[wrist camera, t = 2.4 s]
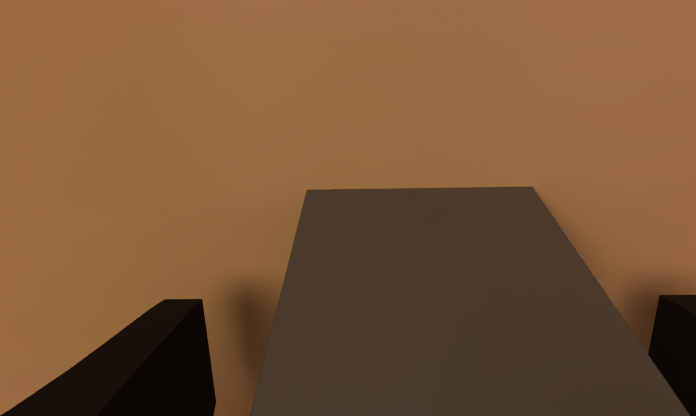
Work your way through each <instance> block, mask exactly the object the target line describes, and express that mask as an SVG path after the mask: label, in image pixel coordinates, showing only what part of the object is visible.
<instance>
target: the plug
mask: <svg viewBox="0 0 696 416" xmlns="http://www.w3.org/2000/svg"><path fill="white" fill-rule="evenodd" d="M250 416H690V415H689V413H688V412H687V410H686V409H685V407H684V406H683V405H682V403H681V402H680V400H679V399H678V397H677V396H676V394H675V393H674V392H673V390H672V389H671V387H670V386H669V384H668V383H667V381H666V380H665V378H664V377H663V376H662V374H661V373H660V371H659V370H658V368H657V367H656V365H655V364H654V363H653V361H652V360H651V358H650V357H649V355H648V354H647V352H646V351H645V350H644V348H643V347H642V345H641V344H640V342H639V341H638V339H637V338H636V336H635V335H634V334H633V332H632V331H631V329H630V328H629V326H628V325H627V323H626V322H625V321H624V319H623V318H622V316H621V315H620V313H619V312H618V310H617V309H616V308H615V306H614V305H613V303H612V302H611V300H610V299H609V297H608V296H607V294H606V293H605V292H604V290H603V289H602V287H601V286H600V284H599V283H598V281H597V280H596V279H595V277H594V276H593V274H592V273H591V271H590V270H589V268H588V267H587V266H586V264H585V263H584V261H583V260H582V258H581V257H580V255H579V254H578V253H577V251H576V250H575V248H574V247H573V245H572V244H571V242H570V241H569V239H568V238H567V237H566V235H565V234H564V232H563V231H562V229H561V228H560V226H559V225H558V224H557V222H556V221H555V219H554V218H553V216H552V215H551V213H550V212H549V211H548V209H547V208H546V206H545V205H544V203H543V202H542V200H541V199H540V197H539V196H538V195H537V193H536V192H535V190H534V189H533V187H476V188H403V189H331V190H307V191H306V195H305V199H304V203H303V207H302V211H301V215H300V219H299V223H298V227H297V231H296V235H295V239H294V243H293V247H292V251H291V255H290V259H289V263H288V267H287V271H286V275H285V279H284V283H283V287H282V291H281V295H280V298H279V302H278V306H277V310H276V314H275V318H274V322H273V326H272V330H271V334H270V338H269V342H268V346H267V350H266V354H265V358H264V362H263V366H262V370H261V374H260V378H259V382H258V386H257V390H256V394H255V398H254V402H253V406H252V409H251V413H250Z"/></svg>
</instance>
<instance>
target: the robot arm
mask: <svg viewBox="0 0 696 416" xmlns="http://www.w3.org/2000/svg"><path fill="white" fill-rule="evenodd" d="M648 355H649V357H650V358H651V360H652V361H653V363H654V364H655V365H656V367H657V368H658V370H659V371H660V373H661V374H662V376H663V377H664V378H665V380H666V381H667V383H668V384H669V386H670V387H671V389H672V390H673V392H674V393H675V394H676V396H677V397H678V399H679V400H680V402H681V403H682V405H683V406H684V407H685V409H686V410H687V412H688V413H689V415H690V416H696V295H660V296H659V301H658V307H657V312H656V317H655V322H654V327H653V332H652V338H651V343H650V348H649V353H648ZM215 405H216V398H215V391H214V383H213V376H212V368H211V361H210V353H209V346H208V339H207V331H206V324H205V316H204V309H203V302H202V299H165V300H163V301H162V302H160V303H158V304H157V305H155V306H154V307H153V308H151V309H150V310H148V311H147V312H146V313H144V314H143V315H141V316H140V317H139V318H137V319H136V320H135V321H133V322H132V323H131V324H129V325H128V326H127V327H125V328H124V329H123V330H122V331H120V332H119V333H118V334H116V335H115V336H114V337H112V338H111V339H110V340H108V341H107V342H106V343H104V344H103V345H102V346H100V347H99V348H97V349H96V350H95V351H93V352H92V353H91V354H89V355H88V356H87V357H85V358H84V359H83V360H81V361H80V362H79V363H77V364H76V365H75V366H73V367H72V368H70V369H69V370H68V371H66V372H65V373H63V374H62V375H60V376H59V377H57V378H56V379H54V380H53V381H51V382H50V383H48V384H47V385H45V386H44V387H43V388H41V389H40V390H38V391H37V392H35V393H34V394H32V395H31V396H29V397H28V398H26V399H25V400H23V401H22V402H20V403H19V404H18V405H16V406H15V407H13V408H12V409H10V410H9V411H7V412H5V413H4V414H2V415H1V416H213V415H214V410H215Z"/></svg>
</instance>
